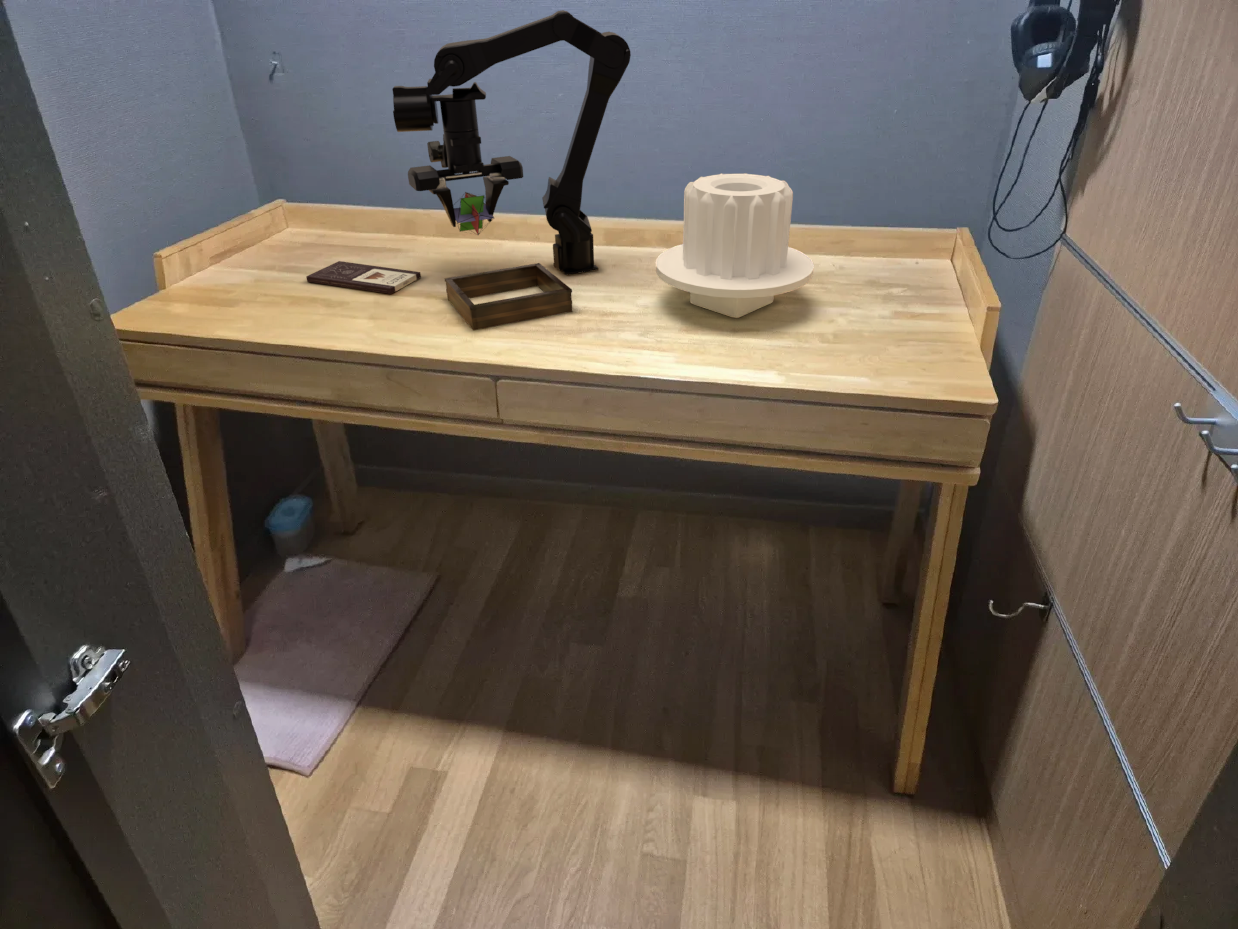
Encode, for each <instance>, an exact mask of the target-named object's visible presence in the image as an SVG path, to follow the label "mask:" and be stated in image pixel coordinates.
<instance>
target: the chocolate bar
mask: <svg viewBox="0 0 1238 929" xmlns="http://www.w3.org/2000/svg"><path fill="white" fill-rule="evenodd" d="M305 277H306V278H305V279H306V282H309V283H313V284H321V285H326V286H327V285H328V286H335V287H341V288H347V289H354V290H361V291H368V292H374V293H380V294H381V293H382V294H388V295H392V294H394V293H395V292H398V291H399V290H401V289H403V288H405V287H406V286H408V285H410V284H411V283H413V282H415V281H418V280H419V279H421V278H422V274H421V271H414V270H407V269H399V268H393V267H385V266H378V265H371V264H363V263H356V262H348V261H341V260H338V261H336V262H334V263H332V264H330V265H327V266H325V267H323V268H321V269H319V270H317V271H315V272H312V273H311V274H309V275H306V276H305Z"/></svg>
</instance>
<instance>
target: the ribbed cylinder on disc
mask: <svg viewBox="0 0 1238 929" xmlns="http://www.w3.org/2000/svg"><path fill="white" fill-rule="evenodd" d="M793 199H794V192H793V190H792V188H791V187H790V185H789V183H788V182H787V181H786V180H785V179H784V180H780V179H777V178H775V177H772V176H770V175H760V174H753V173H752V174H751V173H747V172H745V173H722V172H721V173H719V174H712V175H707V176H699V178H697V179H696V180H694V181H689V182H688V183H687V185H686V186H685V187H684V192H683V226H682V228H683V230H682V243H680V244H677V245H675V246H672V247H669V248H667V249H665V250H664V251H662V252H661V253H660V254H659V255H658V256H657V257H656V259H655V273H656V276H657V277H658V278H659V279H660V280H661V281H662V282H663V283H665V284H667V285H669V286H671V287H673V288H675V289H678V290H681V291H684V292H687V293H689V303H690V304H692V305H694V306H696V307H700V308H703V309H705V310H709V311H712V312H714V313H718V314H720V315H723V316H726V317H730V318H732V319H740V318H741V317H743V316H746V315H748V314H750V313H752V312H755V311H757V310H759V309H761V308H764V307H766V306H769V305H771V304H772V303H773V302H774V298H775V296H778V295H782V294H786V293H789V292H793V291H796V290H798V289H800V288H802V287H805V286H806V285H807V284H808V283H810V281H811V280H812V279H813V276H814V269H815V265H814V262H813V260H812V258H810V256H808V255H807V254H805V252H802V251H800V250H799V249H796V248H793V247H791V246H789V242H790V232H791V220H792V212H793V201H794V200H793Z"/></svg>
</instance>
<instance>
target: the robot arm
mask: <svg viewBox="0 0 1238 929" xmlns="http://www.w3.org/2000/svg"><path fill="white" fill-rule="evenodd" d="M562 41H564V42H566V43H567V44H568V45H571V46H572V47H574V48H575V49H577V50H579V51H581V53H585V55H587V56H589V61H588V62H589V63H588V71H587V83H586V84H587V85H586V90H585V92H584V93H585V94H584V97H583V100H582V104H581V106H580V110H579V113H578V117H577V119H576V120H577V121H576V123H575V126H574V127H575V128H574V129H573V133H572V137H571V140H570V144H569V146H568V149H567V153H566V156H565V159H564V162H563V166H562V169H561V172H560V173H559V175H558V176H557V178H556V179H554V178H552V177H550V176H549V177H548V181H547V187H546V191H545V193H544V195H542V198H541V199H542V205H543V209H544V212H545V217H546V222H547V223H548V225H549V226H550V228H552V229H553V230H554V231H556V232H557V233H556V234H554V243H553V244H552V254H553V256H552V257H553V262H552V266H553V267H554V268H556V269H557V270H558V271H559V272H561V273H562V274H563V275H565V276H571V275H576V274H581V273H582V274H583V273H588V272H594V271H598V270H599V267H598V266H597V265H596V264H595V250H594V248H595V247H594V245H595V244H594V233H592V231H593V230H592V229H593V228H592V226H591V223H590V221H589V220H590V219H589V217H588V215H587V214H586V213H584V211H582V210H581V206H582V199H583V198H582V197H583V184H584V179H585V175H586V172H587V169H588V166H589V163H590V160H591V158H592V157H591V156H592V153H593V151H594V149H595V148H594V147H595V144H596V141H597V139H598V134H599V132H600V129H601V125H602V123H603V119H604V116H605V113H606V111H607V110H606V109H607V107H608V105H609V104H608V103H609V101H610V98H611V97H612V95H613V93H614V92H615V90H616V89H617V87H618V86H619V84H620V82H621V80H622V78H623V76H624V74H625V72H626V71H627V68H628V66H629V64H630V61H631V55H632V54H631V49H630V47H629V44H628V42H627V41H626V40H625V38H624V37H622V36H621V35H619V34H617V33H616V32H613V31H604V32H601V31H598V30H597V29H595V28H594V27H592V26H590V25H588V24H586V23H584V22H583V21H581V20H579V19H578V18H576V17H575V16H573V14H572V13H570V12H569V11H568V10H565V9H562V10H561V9H560V10H557V11H555V12H554V13H553V14H551V15H548V16H545V17H542V18H540V19H537V20H534V21H531V22H528V23H526V24H523V25H520V26H517V27H515V28H511V29H509V30H506V31H503V32H502V33H498V34H495V35H492V36H489V37H486V38H477V39H467V40H461V41H455V42H454V41H453V42H448V43H446V44H444V45H442V46H441V47H440V48H439V50H438V51H437V53H436V54H435V57H434V60H433V67H434V74H433V76H432V77H431V78H428V80H427V82H426V85H423V86H421V85H420V86H405V85H394V86H393V88H392V90H391V91H392V104H393V111H392V115H393V121H394V125H395V129H396V131H397V132H398V133H406V132H407V133H408V132H429V131H431V132H432V131H433V129H434V125H436V124H437V125H438V124H439V110H438V102H439V106H440V114H441V122H442V129H443V130H442V131H443V134H442V141H443V142H442V144H441V142H440V141H439V140H433V141H428V142H427V152H428V158H429V161H430V163H439V162H440V165H441V168H442V169H439V170H438V169H436V168H435V167H433V166H432V165H421V166H420V165H419V166H413V167H410V168H409V169H408V171H407V178H408V185H409V186H410V187H411V188H413V189H414V190H415V191H416V192H424V191H429V193H431V194H432V195H436V197H437V198H438V200H439V202H440V203H441V205H442V208H443V209H444V211H445V213H446V216H447V218H448V220H449V222H450V224H451V226H452V227H453V228H457V222H456V220H455V213H454V208H455V207H454V202H453V197H452V191H451V190H452V189H450V188H449V187H448V186H447V182H451V181H458V180H466V179H468V180H469V179H475V178H482V181H483V185H484V192H485V194H484V196H485V203H486V209H487V211H488V214H489V215H492V214H493V215H495V214H494V213H495V210H496V207H497V204H498V201H499V198H500V196H501V194H502V191H503V190H504V187H505V186H509V184H510V182H509V180H519V179H523V178H524V168H523V165H522V162H520V160H518V159H516V158H515V157H513V156H511V155H507V156H497V157H491V159H490V163H487V164H485V163H484V162H483V160H482V152H481V151H482V149H481V145H482V137H481V136H480V131H479V123H478V115H477V114H478V113H477V112H478V111H477V105H476V104H477V103H476V101H480V100H481V101H482V100H483V101H484V100H486V98H487V92H486V91H484V89H482V88H481V87H480V86H479V85H478V83H477V82H476V81H474V82H473V83H472V85H471V86H470V87H459V86H462V85H464V84H465V83H467V82H469V81H471V80H472V79H474V78H476V77H478V76H479V75H480V74H482V73H483V72H485V71H487V70H488V69H489V68H491V67H493V66H495V65H496V64H500V63H502V62H505V61H508V60H510V59H513V58H516V57H519V56H521V55H525V54H527V53H530V52H533V51H535V50H538V49H542V48H544V47H547V46H550V45H553V44H555V43H558V42H562ZM449 87H453V88H452V92H451V93H449V94H443V92H445V90H447V89H448V88H449ZM487 203H488V204H487ZM488 205H489V206H488ZM491 212H492V213H491ZM491 220H492V221H493V219H486V221H487V222H488V223H492V221H491Z"/></svg>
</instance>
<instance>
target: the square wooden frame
mask: <svg viewBox="0 0 1238 929" xmlns="http://www.w3.org/2000/svg"><path fill="white" fill-rule="evenodd" d="M444 283H445V288H446V290H445V291H446V292H445V293H446V295H447V300H448V302H449V303H450V304H451V305H452V307H453V308H454V309H455V310H456V312H458V314H459V315H460V316H461V317H462V318H463V320H464V321H465V322H466V323H467V325H468V326H469V327H470V328H471V329H472V331H477V330H483V329H487V328H492V327H499V326H504V325H508V324H509V325H510V324H514V323H519V322H523V321H530V320H535V319H540V318H545V317H551V316H555V315H561V314H565V313H566V314H567V313H572V312H573V299H572V298H573V297H572V293H573V289H572V288H571V287H570V286H569V285H567V284H566V283H565V282H563V281H562V280H561V279H560V278H558V277H557V276H556V275H555V274H553V272H551V271H550V270H549V269H548V268H546V267H545V266H544V265H543V264H541V263H540V262H536V263H530V264H524V265H519V266H518V265H517V266H513V267H507V268H499V269H494V270H493V269H492V270H488V271H482V272H475V273H469V274H463V275H457V276H452V277H445V278H444ZM534 287H535V288H536V287H538V288H539V289H541V290H542V291H543V292H538V293H532V294H525V295H521V296H516V297H510V298H504V299H497V300H493V301H492V300H491V301H486V302H481V303H474V302H473V301H472V300H471V299H470V298H476V297H477V298H478V297H482V296H488V295H494V294H500V293H506V292H511V291H517V290H522V289H528V288H534Z"/></svg>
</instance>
